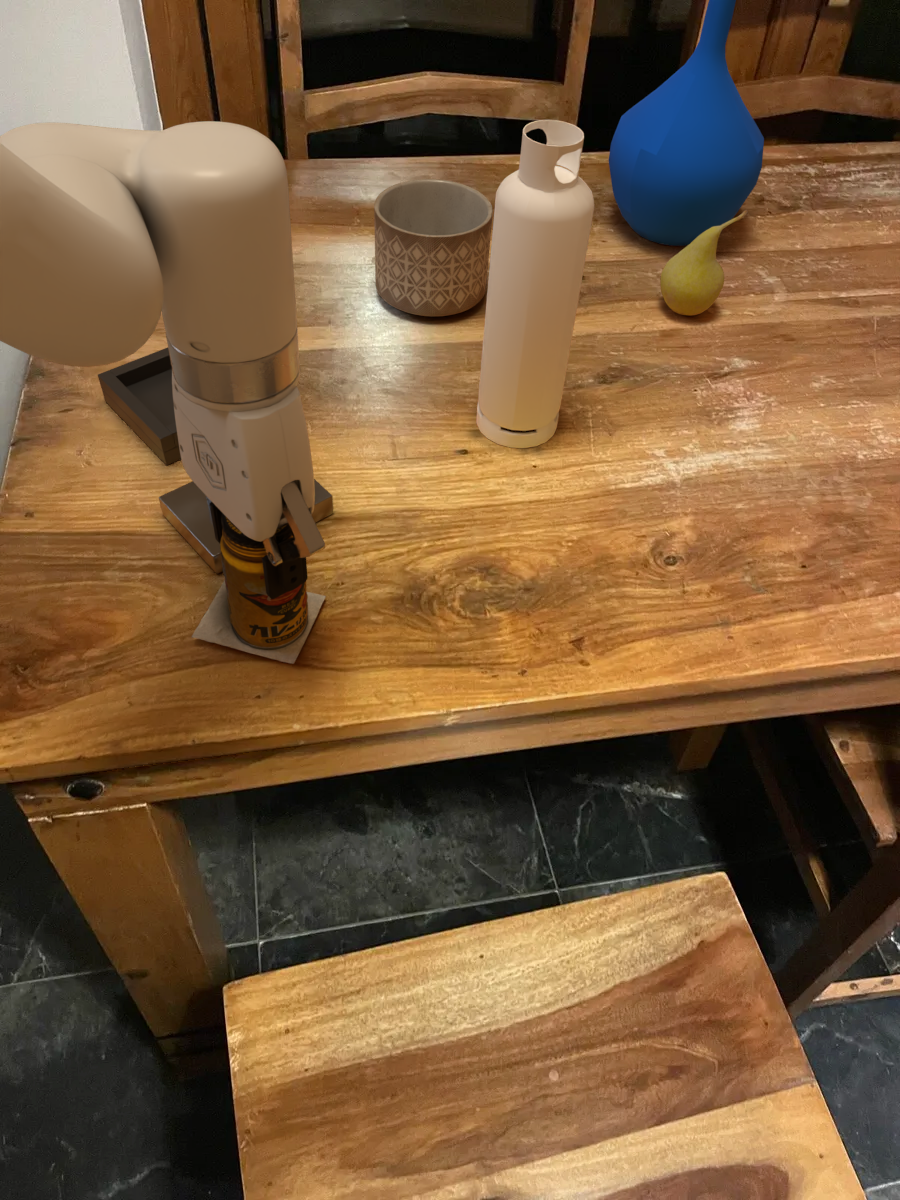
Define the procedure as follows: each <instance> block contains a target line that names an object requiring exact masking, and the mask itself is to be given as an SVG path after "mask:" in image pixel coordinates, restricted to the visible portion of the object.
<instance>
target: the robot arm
mask: <svg viewBox="0 0 900 1200" xmlns="http://www.w3.org/2000/svg"><path fill="white" fill-rule="evenodd" d="M289 190H290V189H289V179H288V171H287V166H286V163H285V160H284V158H283V156H282V153H281V152H280V149H279V148H278V147H277V145H276V144H275V143H274V142H273V141H272V140H271V139H270V138H268V137H267V136H266V135H264V134H263V133H261V132H259V131H258V130H256V129H253V128H251V127H249V126H246V125H243V124H238V123H233V122H228V121H213V120H211V121H210V120H207V121H193V122H185V123H181V124H176V125H172V126H170V127H167V128H165V129H162V130H148V129H147V130H146V129H135V128H121V127H110V126H100V125H91V124H81V123H70V122H35V123H29V124H23V125H20V126H17V127H14V128H12V129H10V130H7V131H6V132H4V133H3V134H1V135H0V342H1V343H4V344H5V345H8V346H10V347H11V348H14V349H16V350H18V351H21V352H23V353H24V354H26V355H29V356H32V357H35V358H37V359H41V360H44V361H47V362H50V363H52V364H58V365H63V366H67V367H74V368H75V367H77V368H93V367H102V366H108V365H111V364H114V363H118V362H120V361H123V360H125V359H126V358H128V357H130V356H132V355H134V354H135V353H136V352H137V351H138V350H140V349H141V348H142V347H144V345H146V343H147V342H148V341H149V339H150V338H151V336H152V335H153V334H154V332H155V331H156V328H157V326H158V323H159V321H160V319H161V315H162V320H163V326H164V327H163V328H164V331H165V338H166V344H167V347H168V350H169V355H170V360H171V366H172V391H173V403H174V413H175V421H176V428H177V435H178V442H179V448H180V455H181V459H180V461H181V464H182V467H183V469H184V471H185V473H186V474H187V476H188V477H189V478H190V480H191V482H192V481H193V482H194V483H195V484H196V485H197V486H198V487H199V489H200V490H201V491H202V492H203V493H204V494H205V495H206V496H207V497H208V498H209V499H210V500H211V501H212V502H211V503H209V505H210V510H211V516H212V522H213V528H214V533H215V539H216V540H217V541H218V542H219V543H220V542H221V537H222V530H223V528H222V523H221V518H222V513H223V514H224V515H225V516H226V517H227V518H228V519H229V520H230V521H231V522H232V523H233V524H234V525H235V526H236V527H237V528H238V529H239V530H240V531H241V532H242V533H243V534H244V535H246V536H247V537H249V538H251V539H253V540H255V541H260V542H261V541H263V544H264V547H265V550H266V553H267V555H265V556H264V557H263V558H262V563H263V571H264V579H265V587H266V594H267V595H268V596H269V597H270V598H271V599H275V598H277V597H279V596H281V595H283V594H284V593H286V592H289V591H292V590H294V589H296V588H297V587H299V586H300V585H301V584H303V583H304V582H306V583H307V580H308V564H307V558H309V557H311V556H313V555H315V554H317V553H319V552H321V551H323V550H324V549H326V542H325V540H324V538H323V536H322V535H321V532H320V529H319V528H318V526H317V524H316V523H315V522H314V520H313V517H312V513H313V510H314V503H315V485H314V479H315V474H314V466H313V465H314V464H313V457H312V450H311V443H310V437H309V430H308V424H307V419H306V415H305V409H304V405H303V402H302V396H301V392H300V390H299V388H298V386H297V385H298V384H299V382H300V378H301V363H300V361H301V360H300V347H299V345H300V344H299V331H298V316H297V300H296V299H297V297H296V287H295V286H296V285H295V273H294V272H295V271H294V255H293V240H292V238H293V237H292V227H291V226H292V222H291V207H290V191H289ZM287 524H289V526H290V529H291V532H292V536H293V537H292V538H289V539H287V540H285V541H283V542H281V543H279V544H278V542H277V539H276V536H275V532H276V530H277V529H279V528H281V527H283V526H285V525H287Z"/></svg>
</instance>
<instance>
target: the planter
mask: <svg viewBox="0 0 900 1200" xmlns="http://www.w3.org/2000/svg"><path fill="white" fill-rule="evenodd" d="M373 210H374V214H373V215H374V274H375V275H374V281H375V288H376V291H377V293H378V295H379V296H380V297H381V299H382V300H383V301H384V302H386V303H387V304H388V305H390V306H391V307H393V308H395V309H397V310H399V311H402V312H404V313H408V314H412V315H415V316H424V317H445V316H452V315H456V314H460V313H463V312H465V311H468V310H470V309H472V308H473V307H475V306H476V305H477V304H479V303H480V302H481V300H482V299H483V298H484V296H485V294H486V292H487V285H488V273H489V262H490V250H491V238H492V235H491V234H492V226H493V215H494V209H493V205H492V203H491V201H490V200H489V199H488V197H487V196H486V195H484V194H483V193H482V192H481V191H479V190H477V189H476V188H473V187H471V186H470V185H467V184H463V183H461V182H456V181H453V180H447V179H439V178H420V179H419V178H418V179H410V180H405V181H402V182H398V183H395V184H393V185H390V186H389V187H387V188H385V189H384V190H382V191H381V192H380V193H379V194H378V195H377V197H376V198H375V200H374V205H373Z"/></svg>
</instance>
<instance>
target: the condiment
mask: <svg viewBox="0 0 900 1200" xmlns="http://www.w3.org/2000/svg"><path fill="white" fill-rule="evenodd" d="M221 523H222V528H223V530H222V537H221V542H220V554H221V559H222V567H223V571H222V572H223V578H224V580H223V582H222V583H221V586H220V587H219V589H218V591H217V592H216V594H215V596H214V598H213V600H212V601H211V602H210V605H209V606H208V608H207V610H206V611H205V613H204V615H203V616H202V618H201V620H200V622H199V623H198V625H197V626H196V628H195V629H194V631H193V633H192V635H191V638H194V639H196V640H202V641H205V642H208V643H212V644H213V643H214V644H216V645H219V646H220V645H221V646H224V647H228V648H231V649H235V650H238V651H242V652H245V653H248V654H253V655H256V656H260V657H262V658H263V657H264V658H267V659H271V660H276V661H278V662H283V663H288V664H295V662H296V660H297V658H298V656H299V654H300V653H301V650H302V648H303V647H304V644H305V642H306V640H307V638H308V636H309V634H310V632H311V630H312V627H313V625H314V623H315V621H316V619H317V618H318V614H319V613H320V609H321V608H322V605H323V603H324V601H325V599H326V597H327V596H326V595H324V594H320V593H314V592H311V591H307V587H308V586H307V581H306V582H304V583H303V584H301V585H300V586H299V587H297V588H296V589H294V590H292V591H289V592H286V593H284V594H283V595H281V596H279V597H277V598H275V599H271V598H270V597H269V596H268V595H267V594H266V587H265V579H264V571H263V563H262V558H263V557H264V556H265V555H267V553H266V550H265V547H264V544H263V541H261V542H260V541H255V540H253V539H251V538H249V537H247V536H246V535H244V534H243V533H242V532H241V531H240V530H239V529H238V528H237V527H236V526H235V525H234V524H233V523H232V522H231V521H230V520H229V519H228V518H227V517H226V516H225V515H224V514H223V513H222V518H221ZM275 536H276V539H277V542H278V544H279V543H281V542H283V541H285V540H287V539H289V538H292V537H293V536H292V532H291V529H290V526H289V524H287V525H285V526H283V527H281V528H279V529H277V530H276V532H275Z"/></svg>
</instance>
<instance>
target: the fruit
mask: <svg viewBox="0 0 900 1200" xmlns="http://www.w3.org/2000/svg"><path fill="white" fill-rule="evenodd" d="M748 213H749V212H748V210H747V209H744V211H742V212H741V214H739V215H737V216H736V217H733V218H732V219H731V220H730V221H728V222H726V223H724V224H722V225H720V226H714V227H711V228H709V229H708V230H706V231H704V232H703V233H701V234H700V235H699V236H698V237H697V238H696V239H695V240H693V241H692V242H691V243H690V244H689V245H686V246H685V247H683V249H681V250H680V251H679V252H678V253H676V254H675V255H674V256H672V257H671V258H670V259H668V260H667V262H666V263H665V265H664V266H663V268H662V270H661V274H660V279H659V286H660V292H661V296H662V298H663V300H664V303H665V304H666V306H667V307H668V308H669V309H670V310H671V311H672V312H674V313H676V314H678V315H681V316H697V315H700V314H702V313H704V312H705V311H707V310H708V309H709V308H710V307H712V305H713V304H715V302H716V301H717V299H718V298H719V296H720V294H721V293H722V289H723V288H724V284H725V272H724V269H723V267H722V266H721V264H720V263H719V261H718V260H717V249H718V242H719V238H720V235H721V233H722V231H723V230H724V229H725V228H727V227H728V226H729V225H731V224H733V223H735V222H738V221H740V220H742V219H743V218H744V217H746V216H747V214H748Z"/></svg>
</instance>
